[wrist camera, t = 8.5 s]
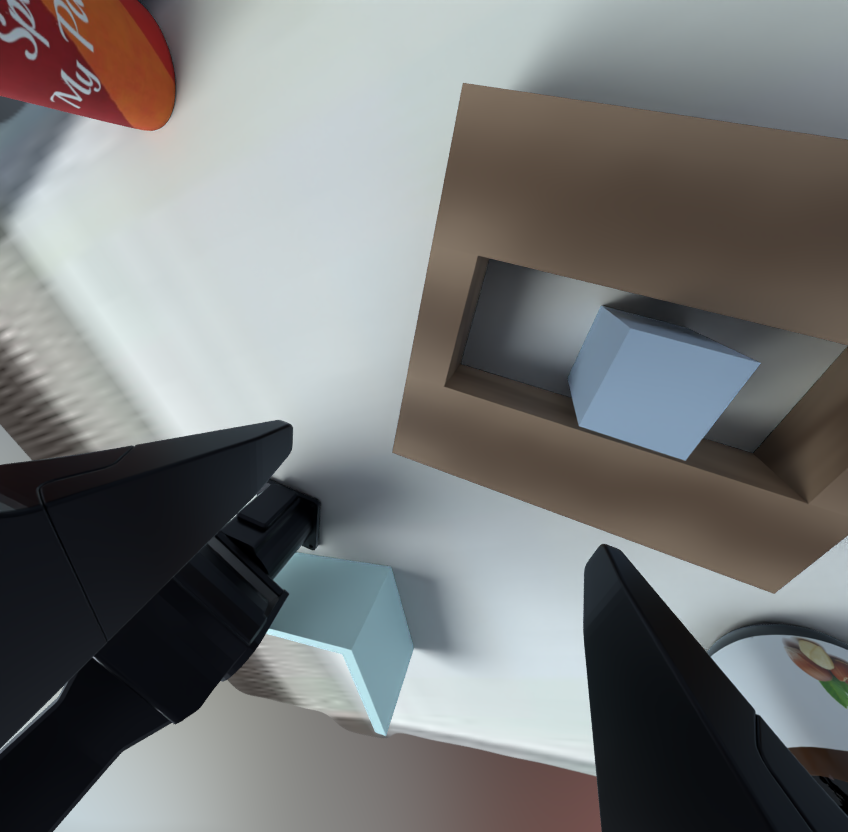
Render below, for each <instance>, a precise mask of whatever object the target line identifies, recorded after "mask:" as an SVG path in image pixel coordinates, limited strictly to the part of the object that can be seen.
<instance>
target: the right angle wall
mask: <svg viewBox="0 0 848 832" xmlns="http://www.w3.org/2000/svg"><path fill="white" fill-rule="evenodd" d="M273 580H274V581H275V582H276V583H277V584H278V585H279V586H280V587H281V588H282V589H283V590H284V589H285V590H286V591H287V592H288V593H289V595H288V597H287V599H286V601H285V602H284V604H283V606H282V607H281V609H280V611H279V612H278V614H277V616H276V617H275V619H274V621H273V623H272V624H271V626H270V628H269V629H268V631H267V633H266V634H269V635H273V636H277V637H280V638H284V639H288V640H292V641H295V642H299V643H303V644H306V645H310V646H314V647H317V648H321V649H325V650H328V651H332V652H336V653H340V654H342V655H343V657H344V659H345V662H346V664H347V666H348V669H349V671H350V673H351V676H352V678H353V680H354V683H355V685H356V688H357V690H358V692H359V695H360V697H361V699H362V702H363V704H364V706H365V709H366V711H367V713H368V716H369V718H370V721H371V723H372V725H373V728H374V730H375V732H376V733H379V734H382V735H385V736H386V735H387V731H388V728H389V725H390V722H391V719H392V716H393V712H394V709H395V706H396V703H397V700H398V697H399V694H400V690H401V687H402V684H403V681H404V678H405V675H406V671H407V668H408V665H409V662H410V659H411V656H412V653H413V649H414V646H413V643H412V639H411V635H410V632H409V628H408V625H407V621H406V618H405V614H404V611H403V607H402V603H401V600H400V596H399V593H398V589H397V586H396V582H395V579H394V575H393V571H392V568H391V567H390V566H384V565H377V564H371V563H364V562H357V561H351V560H344V559H338V558H331V557H324V556H318V555H311V554H305V553H298V552H296V553H295V554H294V555H293V556H292V557H291V559H290V560H289V561H288V562H287V564H286V565H285V566H284V567H283V568H282V570H281V571H280V572H279V573H278V575H277V576H276V577H275V578H274V579H273Z"/></svg>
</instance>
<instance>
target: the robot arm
mask: <svg viewBox="0 0 848 832" xmlns="http://www.w3.org/2000/svg"><path fill="white" fill-rule="evenodd" d="M292 444H293V427H292V425H291V424H289V423H287V422H284V421H281V420H275V421H269V422H263V423H258V424H252V425H246V426H241V427H235V428H229V429H223V430H218V431H212V432H206V433H201V434H195V435H189V436H184V437H178V438H172V439H167V440H161V441H155V442H150V443H144V444H138V445H135V446H126V447H121V448H115V449H109V450H103V451H97V452H91V453H85V454H78V455H70V456H63V457H56V458H49V459H41V460H34V461H26V462H18V463H11V464H3V465H0V748H1V747H2V746H3V745H4V744H5V743H6V742H7V741H8V740H9V739H10V738H11V737H12V736H14V734H15V733H17V731H19V730H20V729H21V728H22V727H23V726H24V725H25V724H26V723H27V722H28V721H29V720H30V719H31V718H32V717H33V716H34V715H35V714H36V713H37V712H38V711H39V710H40V709H41V708H42V707H43V706H44V705H45V704H46V703H47V702H48V701H49V700H50V699H51V698H52V697H53V696H54V695H55V694H56V693H57V692H58V691H59V690H60V689H61V688H62V687H63V686H64V687H63V689H62V691H61V693H60V695H59V696H58V698H57V699H56V700H55V701H54V702H52V703H51V704H50V705H49V706H48V707H47V708H46V709H45V710H44V711H43V712H42V713H40V714H39V715H38V716H37V717H36V718H35V719H34V720H33V721H32V722H31V723H30V724H28V725H27V726H26V727H25V728H24V729H23V730H22V731H21V732H20V733H19V734H17V735H16V736H15V737H14V738H13V739H12V740H11V741H10V742H9V743H8V744H7V745H5V746H4V747H3V748H2V749H1V750H0V832H53V831H54V830H55V829H56V828H57V826H58V825H59V824H60V823H61V821H63V819H64V818H65V817H66V816H67V815H68V814H69V812H70V811H71V810H72V809H73V808H74V807H75V806H76V804H77V803H78V802H79V801H80V800H81V799H82V797H83V796H84V795H85V794H86V793H87V792H88V790H89V789H90V788H91V787H92V786H93V785H94V783H95V782H96V781H97V780H98V779H99V778H100V777H101V775H102V774H103V773H104V772H105V771H106V770H107V768H108V767H109V766H110V765H111V764H112V763H113V762H114V760H115V759H116V758H117V757H118V756H119V755H120V754H121V753H122V752H123V751H124V750H126V749H128V748H129V747H131V746H133V745H135V744H136V743H138V742H140V741H141V740H143V739H145V738H146V737H148V736H150V735H152V734H153V733H155V732H157V731H158V730H160V729H162V728H164V727H165V726H167V725H169V724H171V723H174V724H177V723H179V722H181V721H182V720H184V719H185V718H187V717H188V716H190V715H191V714H193V713H194V712H196V711H197V710H198V709H199V708H200V707H201V706H202V705H203V703H204V702H205V700H206V699H207V698H208V696H209V695H210V693H211V692H212V691H213V689H214V688H215V687H216V686H217V684H218V683H219V682H220V681H225V680H227V679H228V678H230V677H231V676H232V675H233V674H234V673H236V672H237V671H238V670H239V669H240V668H241V667H242V665H243V664H244V663H245V662H246V661H247V660H248V659H249V657H250V656H251V655H252V654H253V652H254V651H255V650H256V648H257V647H258V646H259V644H260V643H261V641H262V639H263V638H264V636H265V634H266V633H267V631H268V629H269V628H270V626H271V624H272V623H273V621H274V619H275V617H276V616H277V614H278V612H279V611H280V609H281V607H282V606H283V604H284V602H285V601H286V599H287V597H288V595H289V593H288V592H287V591H286V590H285V589H284V590H283V589H282V588H281V587H280V586H279V585H278V584H277V583H276V582H275V581H274V580H273V579H274V578H275V577H276V576H277V575H278V573H279V572H280V571H281V570H282V568H283V567H284V566H285V565H286V564H287V562H288V561H289V560H290V559H291V557H292V556H293V555H294V554H295V553H296V551H297V550H298V549H299V548H300V547H301V545H302V546H304V547H306V548H308V549H310V550H315V549H316V548H317V546H318V537H319V520H320V502H319V501H318V500H317V499H315V498H312V497H310V496H308V495H305V494H303V493H300V492H298V491H295V490H293V489H291V488H288V487H286V486H283V485H281V484H279V483H276V482H274V481H271V480H269V479H270V478H271V476H272V475H273V474H274V473H275V471H276V470H277V469H278V468H279V467H280V465H281V464H282V463H283V462H284V460H285V459H286V458H287V457H288V456H289V454H290V452H291V450H292ZM256 494H257V497H255V498H254V499H253V500H252V501H251V502H249V501H250V500H251V499H252V498H253V497H254V496H255V495H256ZM248 502H249V503H248ZM247 503H248V504H247ZM246 504H247V505H246ZM245 505H246V506H245ZM244 506H245V507H244ZM243 507H244V508H243ZM236 514H237V515H236ZM235 515H236V516H235ZM234 516H235V517H234ZM233 517H234V518H233ZM232 518H233V519H232ZM231 519H232V520H231ZM583 633H584V646H585V657H586V668H587V679H588V689H589V700H590V711H591V722H592V732H593V743H594V754H595V765H596V775H597V786H598V797H599V807H600V818H601V827H602V832H848V816H847V815H846V814H845V813H844V812H843V811H842V810H841V808H840V807H839V806H838V805H837V804H836V803H835V802H834V801H833V800H832V798H831V797H830V796H829V795H828V794H827V793H826V792H825V791H824V789H823V788H822V787H821V786H820V785H819V784H818V783H817V782H816V781H815V779H814V778H813V777H812V776H811V775H810V774H809V772H808V771H807V770H806V769H805V768H804V767H803V765H802V764H801V763H800V762H799V761H798V760H797V758H796V757H795V756H794V755H793V754H792V753H791V752H790V750H789V749H788V748H787V747H786V746H785V745H784V743H783V742H782V741H781V740H780V739H779V737H778V736H777V735H776V734H775V733H774V732H773V730H772V729H771V728H770V727H769V726H768V724H767V723H766V722H765V721H764V720H763V718H762V717H761V716H760V715H758V714H756V711H755V709H754V708H753V707H752V705H751V704H750V703H749V702H748V701H747V700H746V698H745V697H744V696H743V695H742V694H741V692H740V691H739V690H738V689H737V688H736V686H735V685H734V684H733V683H732V682H731V681H730V679H729V678H728V677H727V676H726V675H725V673H724V672H723V671H722V670H721V669H720V668H719V666H718V665H717V664H716V663H715V662H714V660H713V659H712V658H711V657H710V656H709V654H708V653H707V652H706V651H705V650H704V649H703V647H702V646H701V645H700V644H699V643H698V641H697V640H696V639H695V638H694V637H693V635H692V634H691V633H690V632H689V631H688V630H687V628H686V627H685V626H684V625H683V624H682V622H681V621H680V620H679V619H678V618H677V616H676V615H675V614H674V613H673V612H672V611H671V609H670V608H669V607H668V606H667V605H666V603H665V602H664V601H663V600H662V599H661V597H660V596H659V595H658V594H657V593H656V592H655V590H654V589H653V588H652V587H651V586H650V584H649V583H648V582H647V581H646V580H645V578H644V577H643V576H642V575H641V574H640V573H639V571H638V570H637V569H636V568H635V567H634V565H633V564H632V563H631V562H630V561H629V559H628V558H627V557H626V556H625V555H624V554H623V552H622V551H621V550H619V549H617V548H615V547H612V546H609V545H607V544H602V545H600V546H599V547H598V548H597V550H596V551H595V553H594V554H593V555H592V557H591V558H590V559H589V561H588V562H587V564H586V566H585V570H584V610H583Z"/></svg>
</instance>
